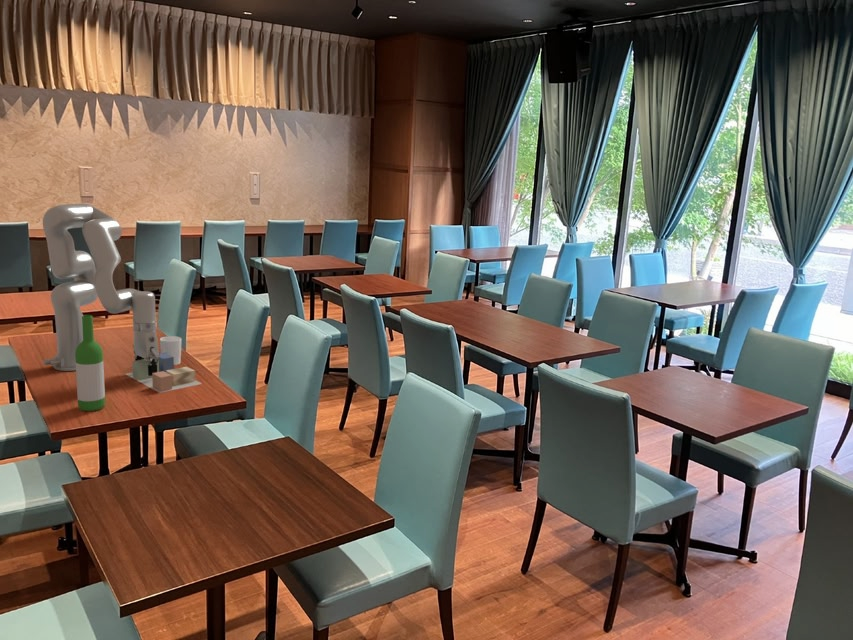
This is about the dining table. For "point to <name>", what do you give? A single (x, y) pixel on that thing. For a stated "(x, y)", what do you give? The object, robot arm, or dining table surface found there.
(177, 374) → the beech block
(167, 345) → the white cup
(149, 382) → the felt placemat
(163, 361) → the slate blue block
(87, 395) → the wine bottle
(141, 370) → the sage block
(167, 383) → the terracotta block
